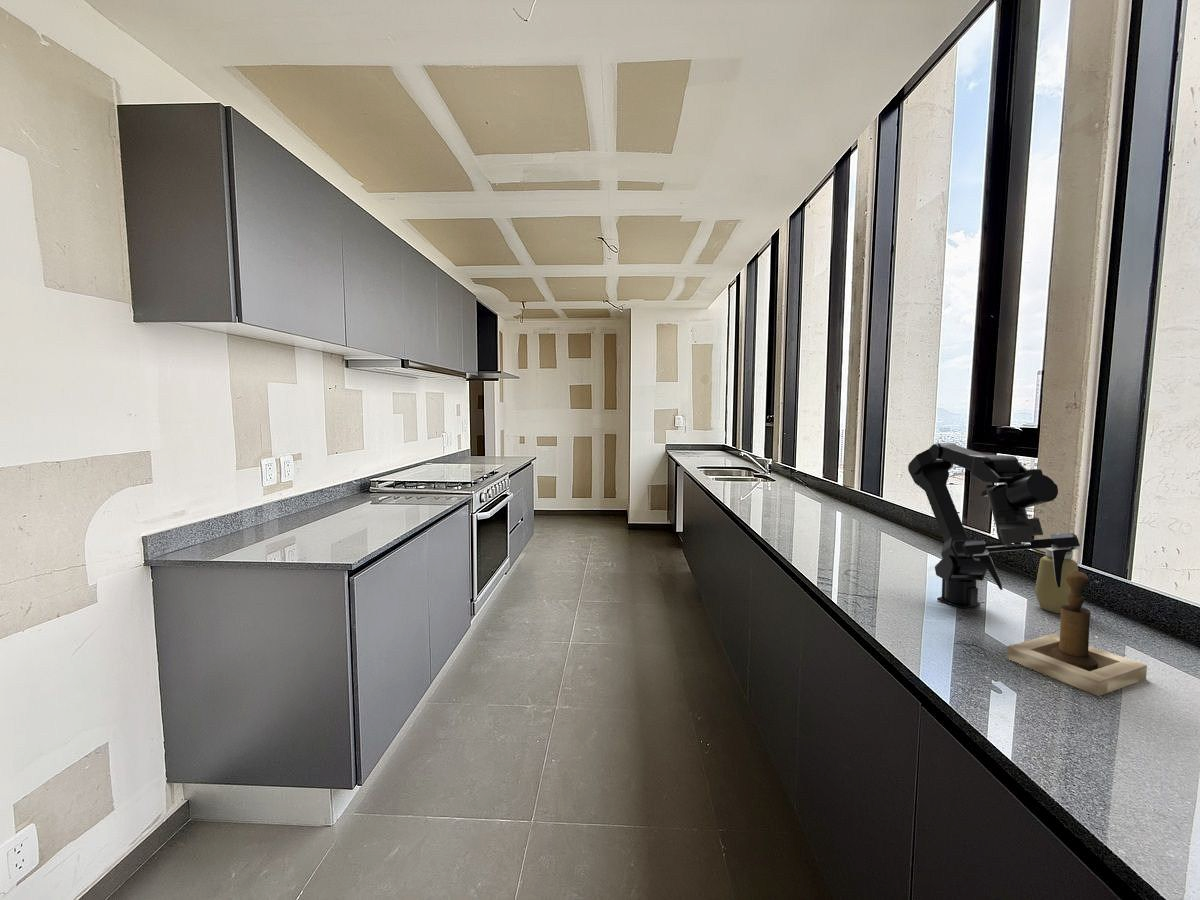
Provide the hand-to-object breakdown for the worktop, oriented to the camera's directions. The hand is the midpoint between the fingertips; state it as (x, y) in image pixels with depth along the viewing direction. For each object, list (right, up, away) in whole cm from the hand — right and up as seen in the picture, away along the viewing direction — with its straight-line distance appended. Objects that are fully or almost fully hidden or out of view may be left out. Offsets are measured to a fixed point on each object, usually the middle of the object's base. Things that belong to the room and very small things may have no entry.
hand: (1029, 588), depth 106 cm
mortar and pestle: (-1, -12, -10) cm, 16 cm away
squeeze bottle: (+20, -10, +16) cm, 27 cm away
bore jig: (-1, -12, -11) cm, 16 cm away
